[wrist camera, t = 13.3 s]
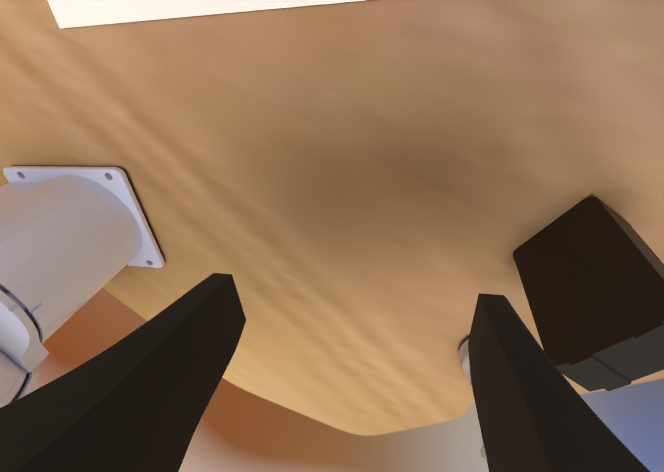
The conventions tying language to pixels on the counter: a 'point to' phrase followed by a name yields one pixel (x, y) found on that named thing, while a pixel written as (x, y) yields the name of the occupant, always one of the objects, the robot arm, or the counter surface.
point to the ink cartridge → (595, 297)
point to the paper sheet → (158, 9)
